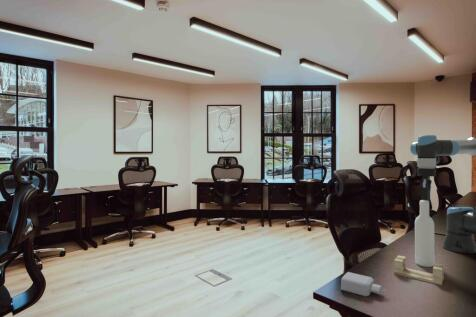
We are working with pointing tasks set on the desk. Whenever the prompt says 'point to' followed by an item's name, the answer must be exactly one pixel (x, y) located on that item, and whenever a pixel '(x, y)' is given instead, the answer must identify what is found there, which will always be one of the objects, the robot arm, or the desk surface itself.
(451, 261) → the desk surface
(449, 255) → the desk surface
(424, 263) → the bottle
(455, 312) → the desk surface
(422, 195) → the robot arm
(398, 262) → the bottle rest
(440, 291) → the desk surface
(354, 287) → the white flat bottle
